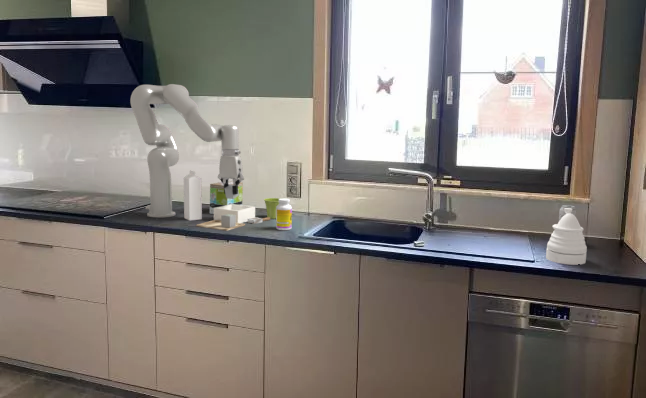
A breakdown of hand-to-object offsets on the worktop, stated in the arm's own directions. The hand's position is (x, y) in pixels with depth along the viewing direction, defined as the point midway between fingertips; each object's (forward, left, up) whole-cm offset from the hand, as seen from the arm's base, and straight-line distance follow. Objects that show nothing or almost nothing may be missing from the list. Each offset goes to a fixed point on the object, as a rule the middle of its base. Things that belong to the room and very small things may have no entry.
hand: (231, 193), depth 245 cm
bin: (+2, 0, -12) cm, 12 cm away
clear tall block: (+137, +37, -12) cm, 142 cm away
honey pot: (+139, +9, -12) cm, 140 cm away
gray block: (+9, -14, -12) cm, 20 cm away
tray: (+5, -14, -12) cm, 19 cm away
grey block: (0, +1, -2) cm, 2 cm away
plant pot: (+13, +16, -12) cm, 24 cm away
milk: (-15, -8, -12) cm, 21 cm away
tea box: (-13, +14, -12) cm, 23 cm away
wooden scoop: (+14, +3, -12) cm, 18 cm away
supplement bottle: (+30, -3, -12) cm, 33 cm away
